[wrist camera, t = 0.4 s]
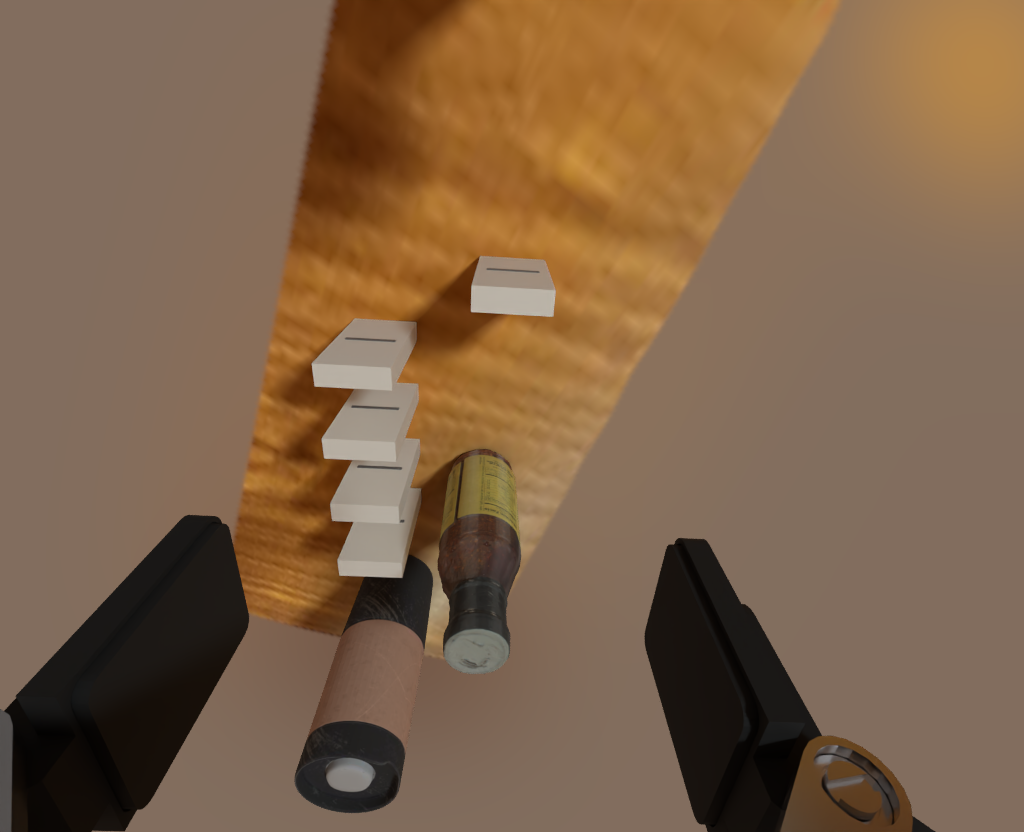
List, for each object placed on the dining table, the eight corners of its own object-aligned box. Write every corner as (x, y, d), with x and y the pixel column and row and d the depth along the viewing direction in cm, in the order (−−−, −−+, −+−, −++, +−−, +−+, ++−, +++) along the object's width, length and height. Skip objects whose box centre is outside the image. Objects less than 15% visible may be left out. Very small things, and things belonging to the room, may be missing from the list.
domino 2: (359, 380, 43) (321, 437, 34) (418, 383, 43) (395, 441, 34) (361, 397, 44) (324, 458, 35) (418, 400, 44) (396, 461, 35)
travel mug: (355, 591, 54) (281, 801, 37) (376, 541, 51) (306, 744, 34) (421, 611, 56) (381, 822, 38) (446, 564, 53) (415, 770, 35)
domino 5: (480, 255, 38) (471, 284, 30) (544, 259, 39) (555, 289, 30) (479, 277, 39) (470, 311, 30) (543, 280, 39) (553, 316, 30)
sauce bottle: (472, 509, 50) (453, 704, 32) (436, 463, 47) (393, 646, 29) (530, 481, 48) (543, 669, 30) (496, 432, 46) (488, 605, 28)
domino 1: (354, 317, 41) (311, 362, 32) (416, 321, 41) (390, 366, 32) (356, 337, 41) (314, 386, 32) (416, 340, 42) (392, 390, 33)
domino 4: (368, 485, 48) (337, 559, 39) (421, 487, 48) (401, 562, 39) (369, 499, 49) (339, 575, 40) (421, 501, 49) (402, 577, 40)
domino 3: (364, 435, 46) (329, 503, 37) (419, 438, 46) (398, 506, 37) (365, 451, 46) (332, 520, 37) (420, 454, 47) (399, 523, 38)
